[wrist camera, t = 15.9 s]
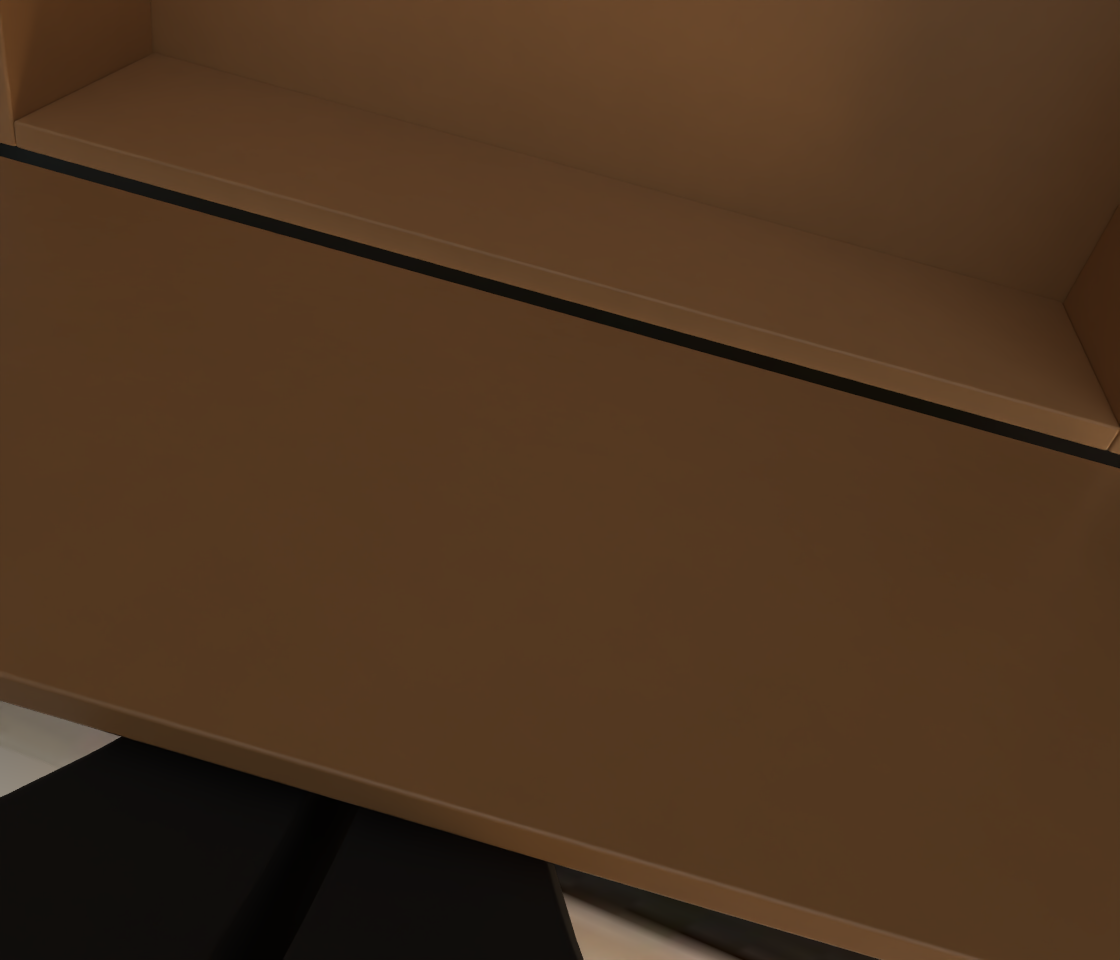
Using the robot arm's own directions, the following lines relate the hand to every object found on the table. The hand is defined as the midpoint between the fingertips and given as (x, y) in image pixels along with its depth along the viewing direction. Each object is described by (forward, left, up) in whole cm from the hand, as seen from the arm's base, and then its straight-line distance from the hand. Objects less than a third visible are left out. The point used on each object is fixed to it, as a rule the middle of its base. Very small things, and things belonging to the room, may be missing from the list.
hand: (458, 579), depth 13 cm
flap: (0, +2, +1) cm, 2 cm away
